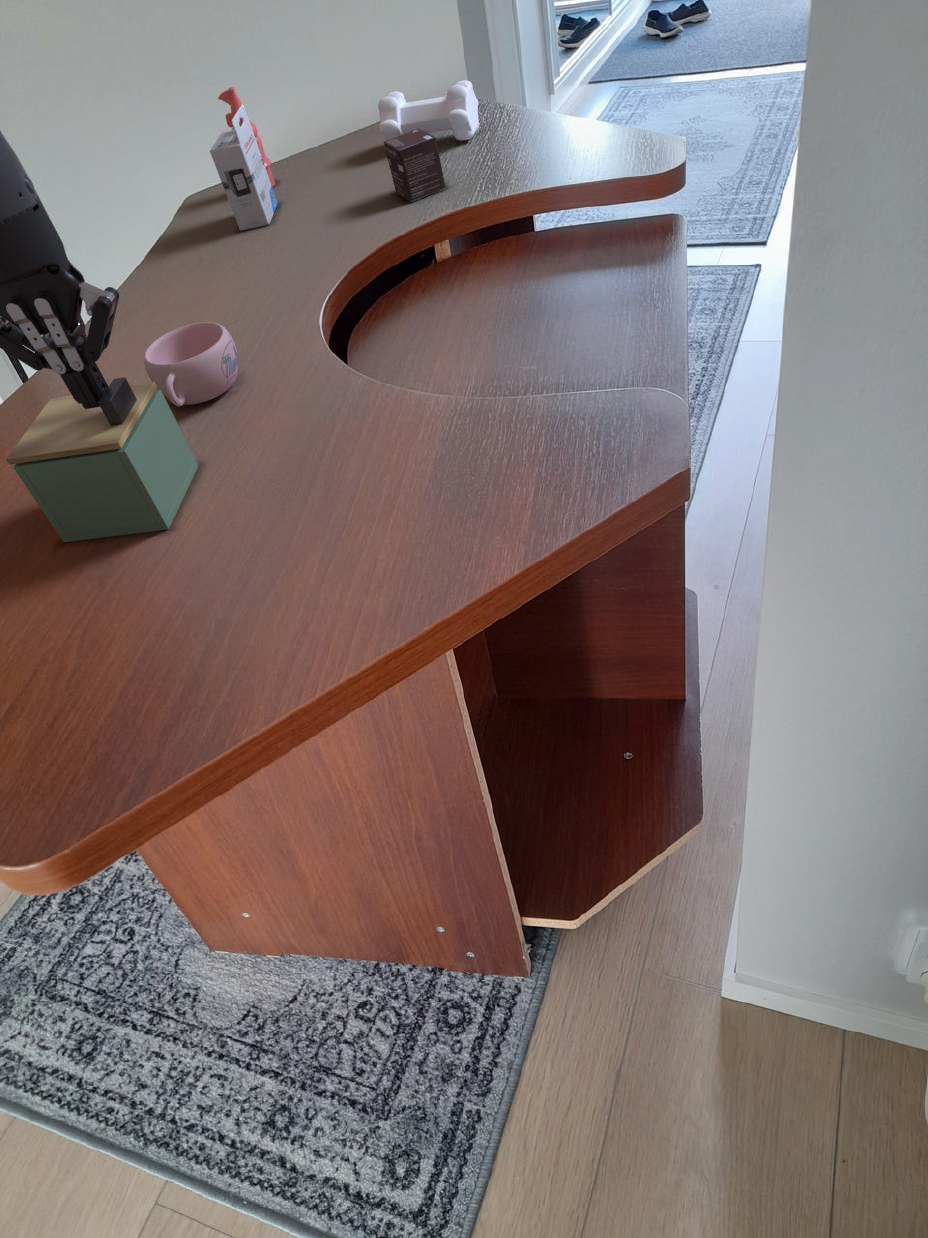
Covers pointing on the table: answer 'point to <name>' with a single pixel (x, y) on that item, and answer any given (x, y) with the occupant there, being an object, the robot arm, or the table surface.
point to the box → (415, 165)
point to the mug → (193, 363)
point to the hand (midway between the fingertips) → (97, 402)
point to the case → (117, 481)
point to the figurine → (235, 103)
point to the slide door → (84, 424)
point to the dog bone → (431, 113)
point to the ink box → (244, 174)
